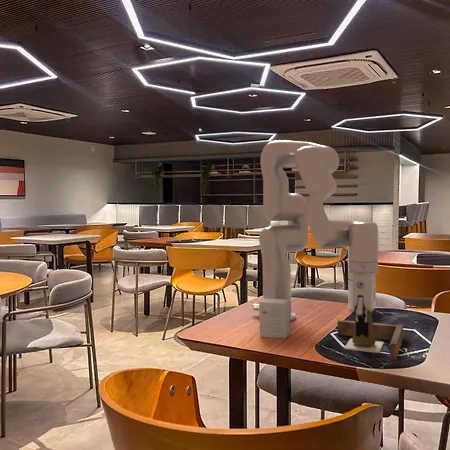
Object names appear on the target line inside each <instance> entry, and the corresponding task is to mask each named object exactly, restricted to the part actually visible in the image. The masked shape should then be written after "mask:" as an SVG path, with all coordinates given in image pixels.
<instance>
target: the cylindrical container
mask: <svg viewBox="0 0 450 450" xmlns="http://www.w3.org/2000/svg"><path fill="white" fill-rule="evenodd" d="M347 283H348V284H347V287H348V288H347V291H348V292H347V296H348V299H347V301H348V310H350V311H354V309H353V274H352V273H349V246H347Z"/></svg>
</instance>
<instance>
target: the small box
mask: <svg viewBox="0 0 450 450" xmlns="http://www.w3.org/2000/svg"><path fill="white" fill-rule="evenodd" d="M258 304H259V311H258V312H259V313H258V318H259V319H258V320H259V337H260V338H269V339H271V338H272V339H273V338H274V339H287V338H288V336H289V335H290V333H291V332H290V321H289V300H288V299H263V298H262V299H261V300H260V301H259V302H258Z"/></svg>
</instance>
